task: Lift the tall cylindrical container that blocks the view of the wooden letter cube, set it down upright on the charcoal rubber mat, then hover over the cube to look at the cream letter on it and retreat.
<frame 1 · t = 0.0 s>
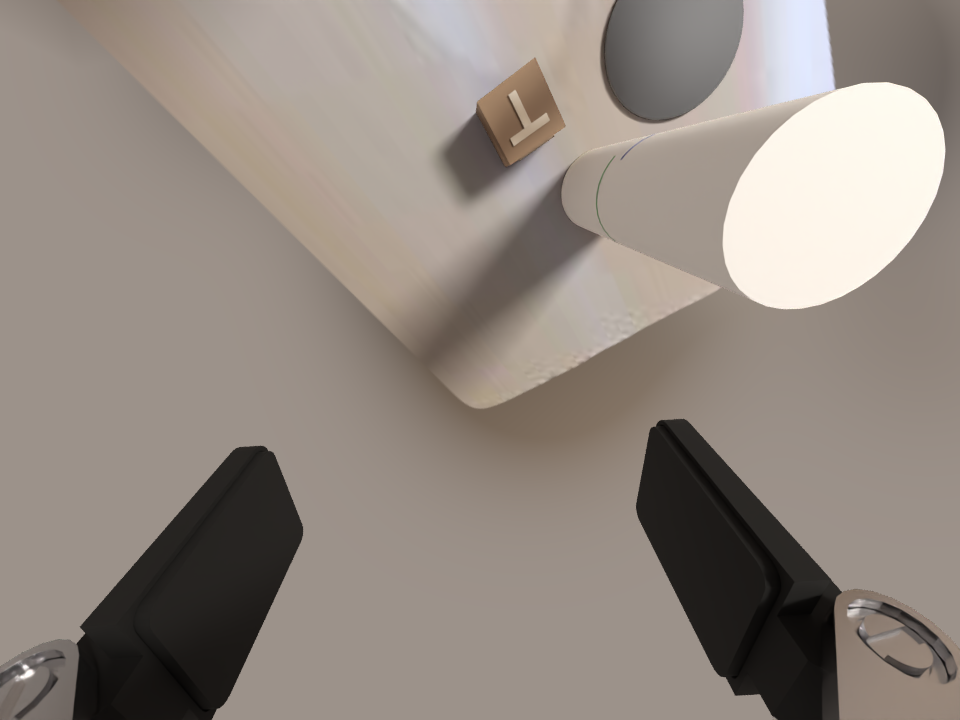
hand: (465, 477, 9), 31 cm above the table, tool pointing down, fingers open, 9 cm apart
charcoal mat: (671, 40, 30), on the table
cylindrical container: (597, 190, 35), on the table
wooden letter cube: (514, 123, 32), on the table
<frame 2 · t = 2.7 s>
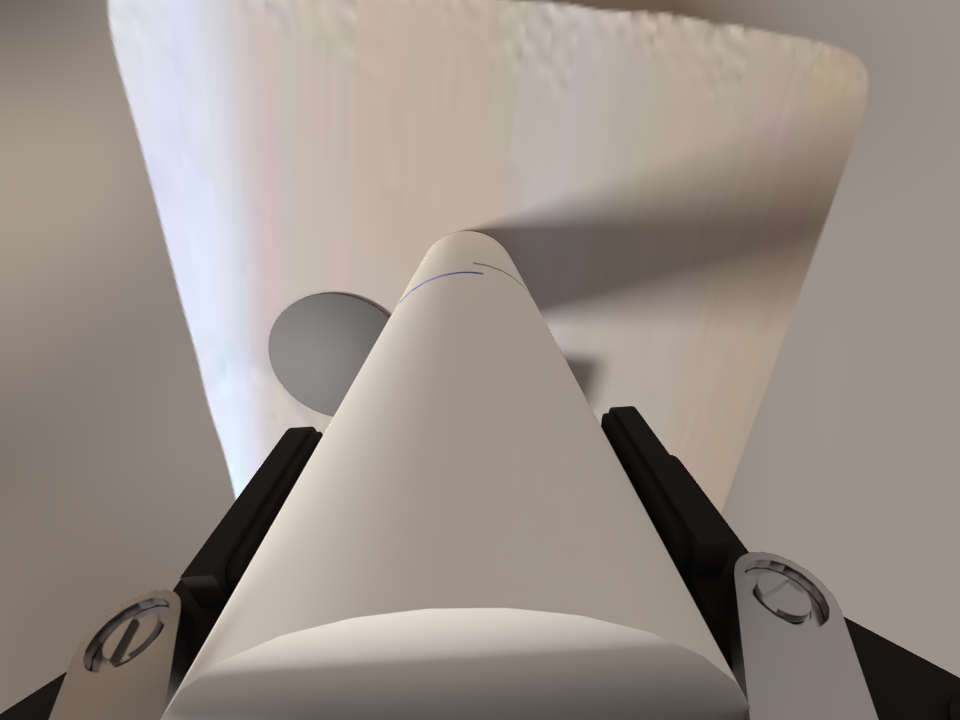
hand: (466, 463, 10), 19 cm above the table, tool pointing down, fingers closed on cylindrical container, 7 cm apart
charcoal mat: (341, 359, 30), on the table
cylindrical container: (467, 280, 27), on the table, touching gripper
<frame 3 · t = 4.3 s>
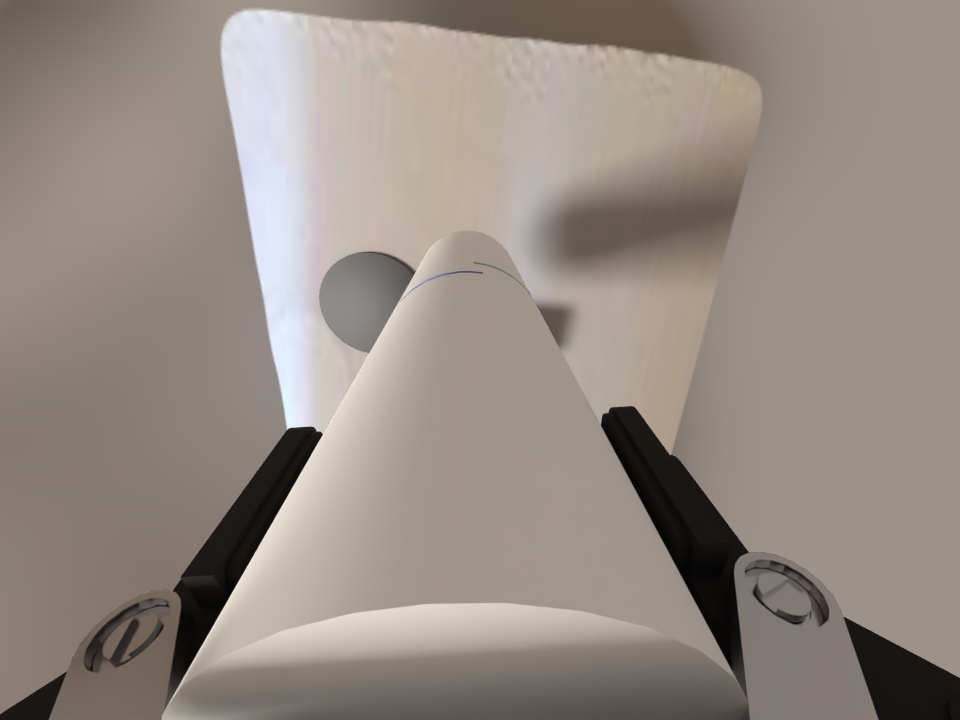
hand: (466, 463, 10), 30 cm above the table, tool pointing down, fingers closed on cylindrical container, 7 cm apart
charcoal mat: (374, 305, 39), on the table
cylindrical container: (467, 280, 27), point 10 cm above the table, touching gripper
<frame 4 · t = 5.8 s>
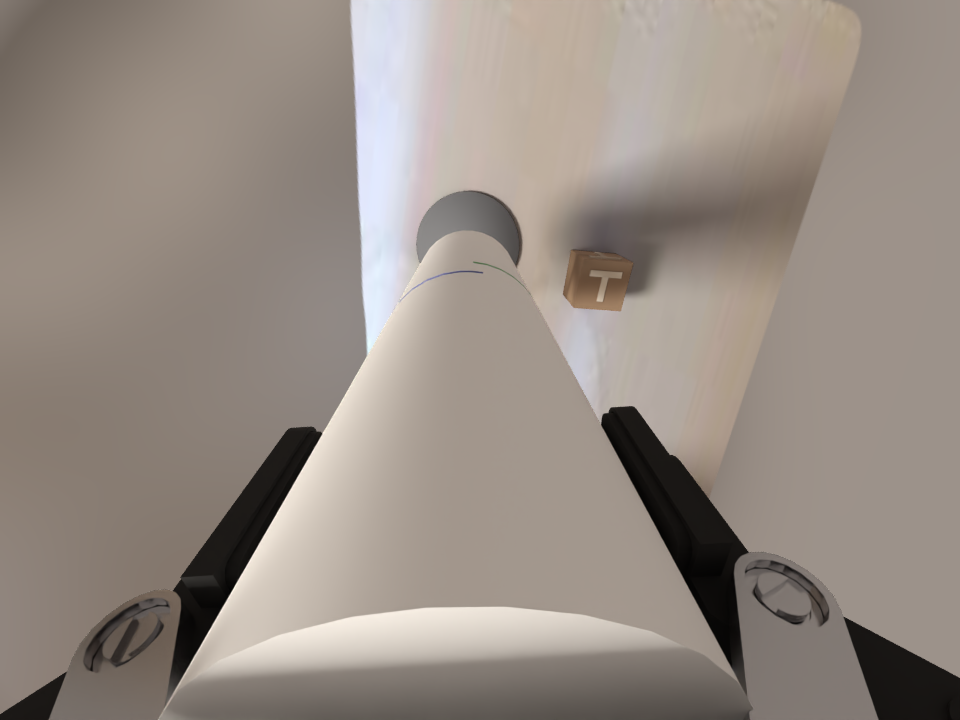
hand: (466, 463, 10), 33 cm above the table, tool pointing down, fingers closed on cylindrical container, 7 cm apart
charcoal mat: (468, 247, 40), on the table
cylindrical container: (467, 280, 27), point 14 cm above the table, touching gripper
wooden letter cube: (588, 274, 41), on the table
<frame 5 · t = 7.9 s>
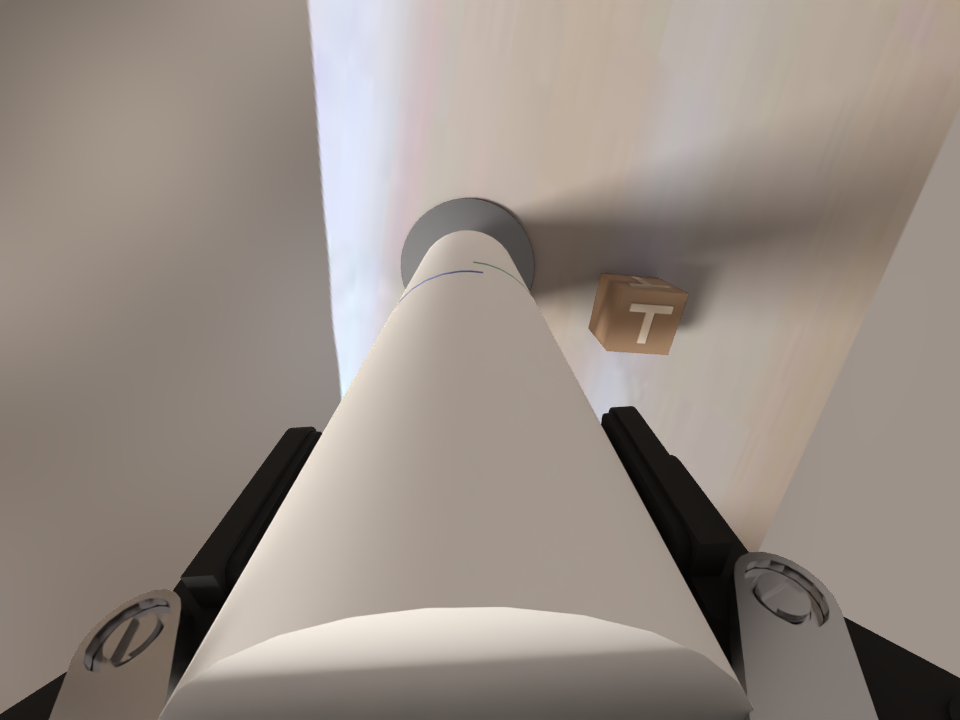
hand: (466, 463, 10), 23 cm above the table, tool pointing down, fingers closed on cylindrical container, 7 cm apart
charcoal mat: (467, 270, 31), on the table
cylindrical container: (467, 280, 27), point 4 cm above the table, touching gripper
wooden letter cube: (621, 303, 32), on the table
when the fingers open (20 cm above the table, at t = 9.3 s): cylindrical container stays where it is, resting on charcoal mat.
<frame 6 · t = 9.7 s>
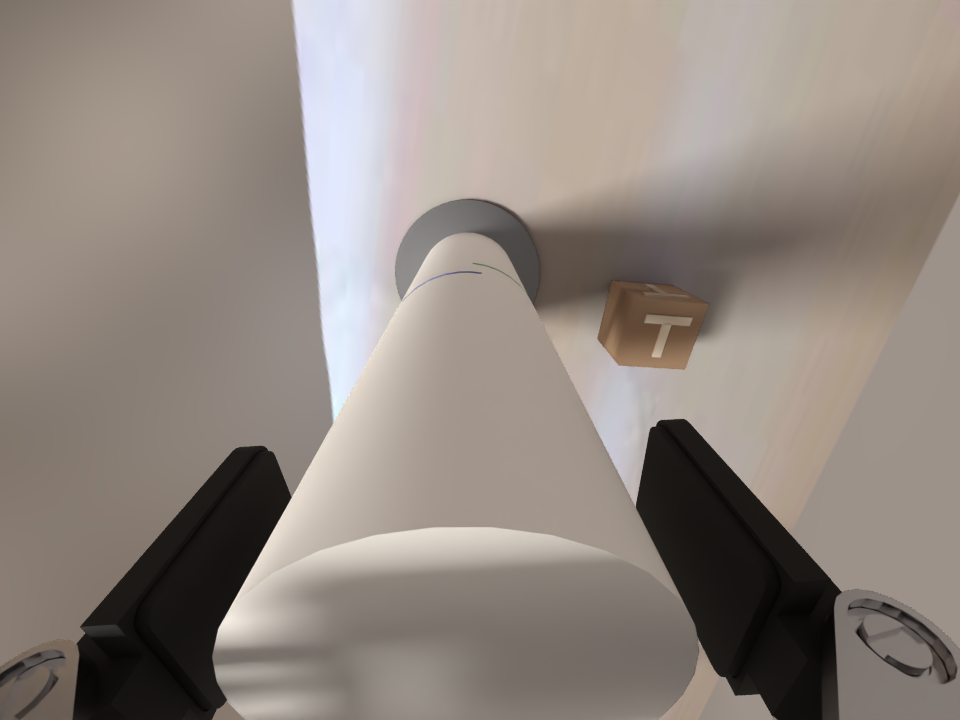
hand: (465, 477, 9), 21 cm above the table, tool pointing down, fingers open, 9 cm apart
charcoal mat: (467, 277, 28), on the table
cylindrical container: (467, 280, 28), resting on charcoal mat
wooden letter cube: (633, 312, 30), on the table
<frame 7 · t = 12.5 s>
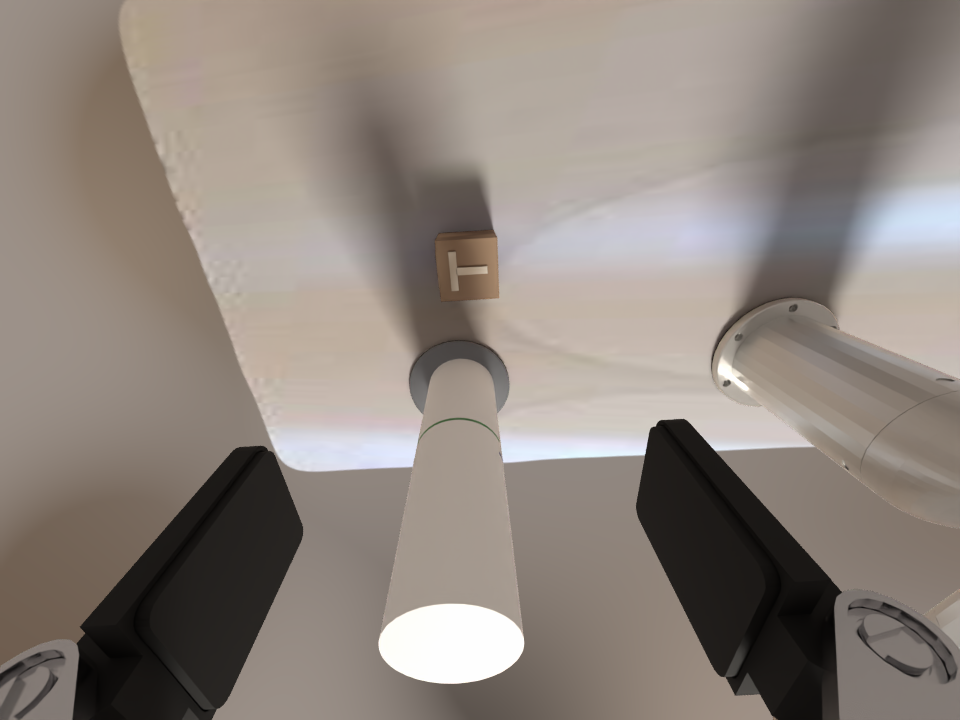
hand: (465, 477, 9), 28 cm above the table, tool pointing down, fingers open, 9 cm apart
charcoal mat: (459, 385, 41), on the table
cylindrical container: (461, 386, 41), resting on charcoal mat
wooden letter cube: (468, 258, 35), on the table
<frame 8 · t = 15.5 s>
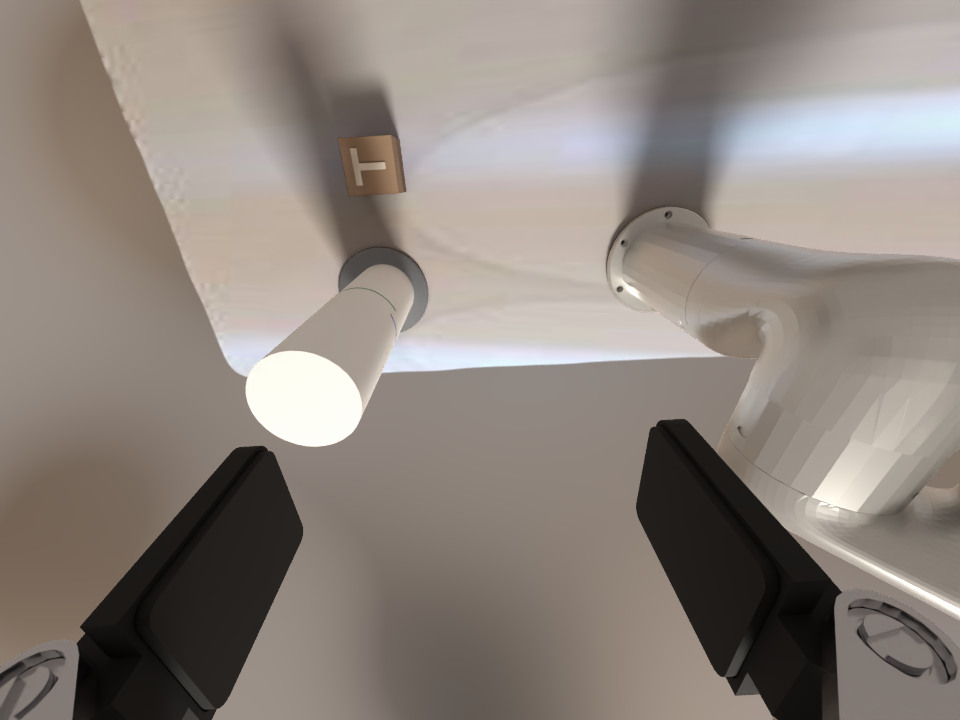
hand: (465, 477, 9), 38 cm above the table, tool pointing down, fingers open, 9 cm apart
charcoal mat: (384, 292, 46), on the table
cylindrical container: (385, 292, 46), resting on charcoal mat
wooden letter cube: (380, 167, 40), on the table
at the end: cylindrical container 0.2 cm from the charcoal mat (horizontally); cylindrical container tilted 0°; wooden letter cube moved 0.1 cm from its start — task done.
